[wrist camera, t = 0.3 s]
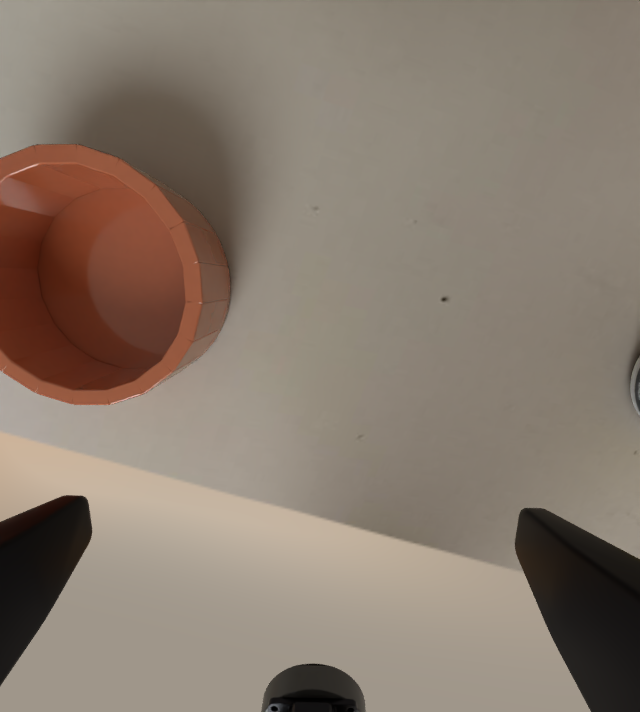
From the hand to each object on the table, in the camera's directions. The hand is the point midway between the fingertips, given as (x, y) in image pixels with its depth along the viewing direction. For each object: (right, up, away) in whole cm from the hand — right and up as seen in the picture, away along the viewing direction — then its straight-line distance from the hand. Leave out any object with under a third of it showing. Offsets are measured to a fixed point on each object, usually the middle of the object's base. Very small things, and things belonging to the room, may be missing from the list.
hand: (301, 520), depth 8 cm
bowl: (-9, +7, +11) cm, 16 cm away
